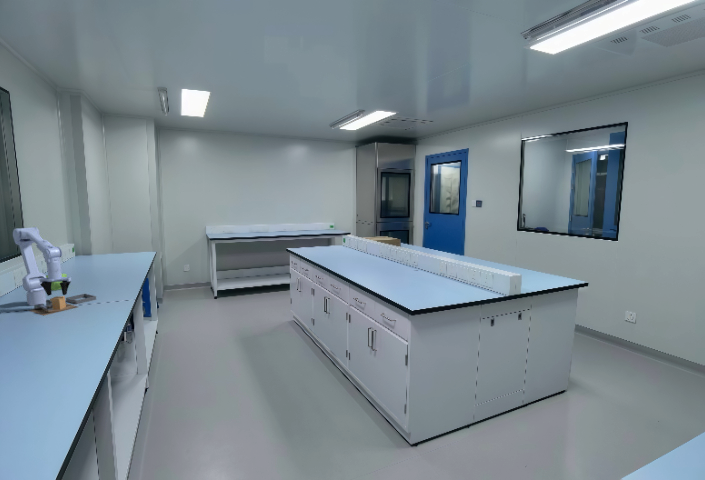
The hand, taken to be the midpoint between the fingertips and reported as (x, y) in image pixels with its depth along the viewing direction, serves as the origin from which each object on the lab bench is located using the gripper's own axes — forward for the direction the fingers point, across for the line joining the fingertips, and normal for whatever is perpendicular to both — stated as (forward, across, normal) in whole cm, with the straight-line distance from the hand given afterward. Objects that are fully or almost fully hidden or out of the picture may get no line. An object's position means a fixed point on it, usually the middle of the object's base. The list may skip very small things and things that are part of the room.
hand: (57, 294), depth 196 cm
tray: (+8, +3, +14) cm, 17 cm away
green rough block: (+9, -34, +49) cm, 60 cm away
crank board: (+8, -2, 0) cm, 9 cm away
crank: (+7, -5, -4) cm, 9 cm away
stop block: (+7, 0, 0) cm, 7 cm away
